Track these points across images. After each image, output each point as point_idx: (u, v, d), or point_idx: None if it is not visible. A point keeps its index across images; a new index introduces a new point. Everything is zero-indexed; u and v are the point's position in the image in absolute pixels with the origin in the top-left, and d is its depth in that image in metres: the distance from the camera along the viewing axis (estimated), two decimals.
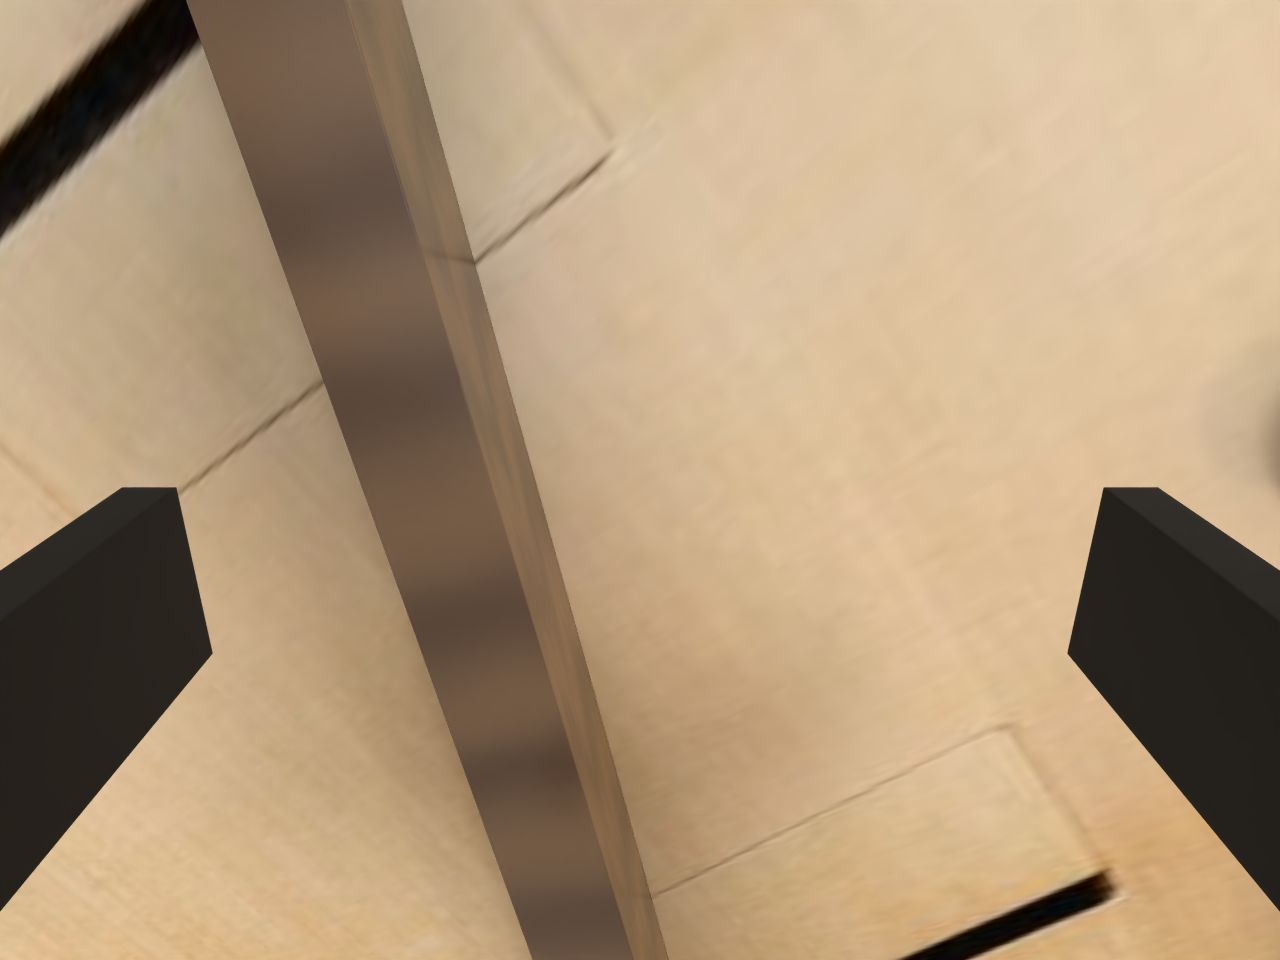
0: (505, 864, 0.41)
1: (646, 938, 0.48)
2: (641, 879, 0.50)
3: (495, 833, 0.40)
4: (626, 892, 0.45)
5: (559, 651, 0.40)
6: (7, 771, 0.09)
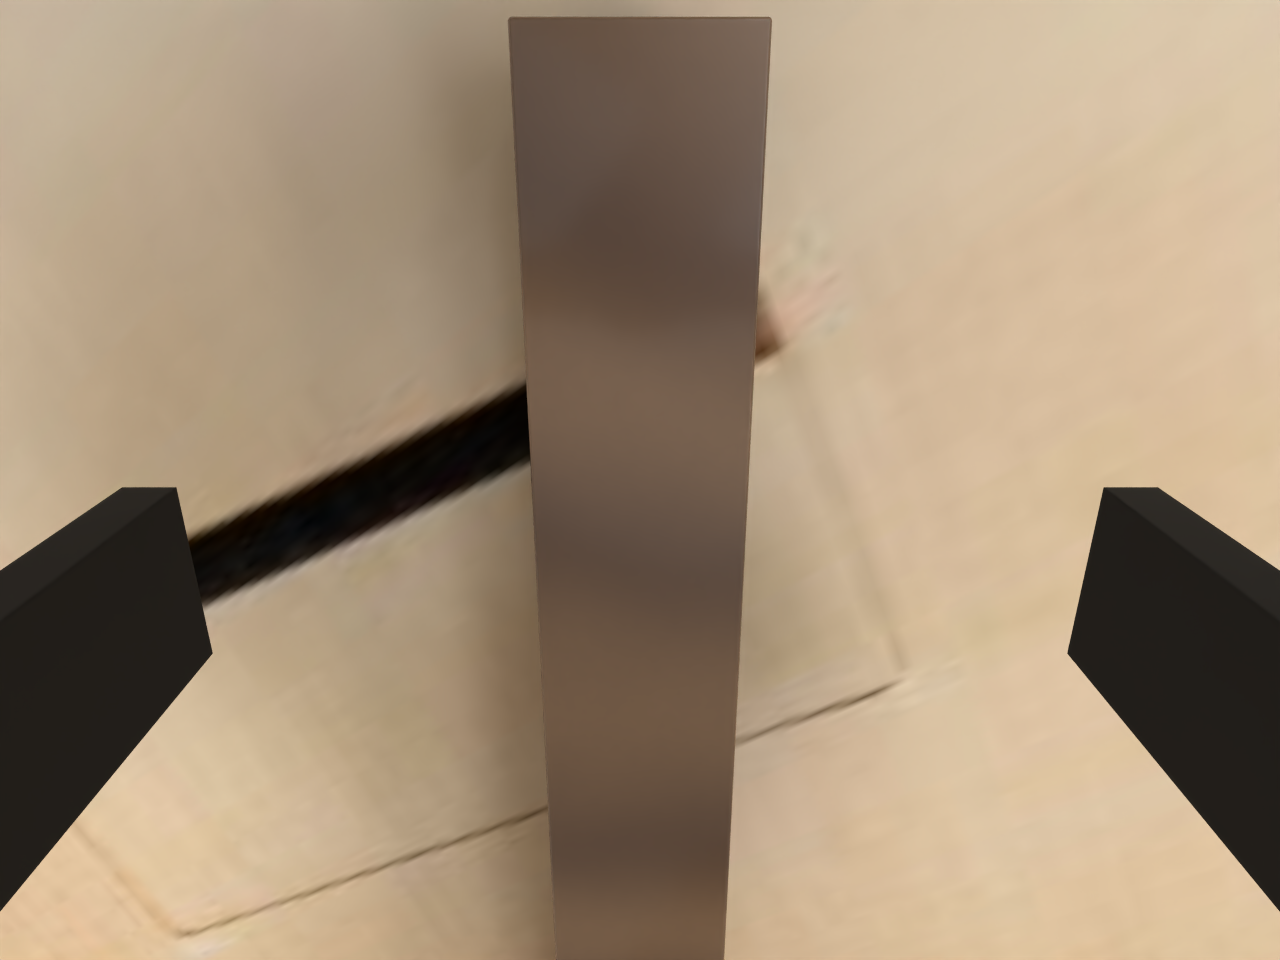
0: None
1: None
2: None
3: None
4: None
5: None
6: (8, 770, 0.09)
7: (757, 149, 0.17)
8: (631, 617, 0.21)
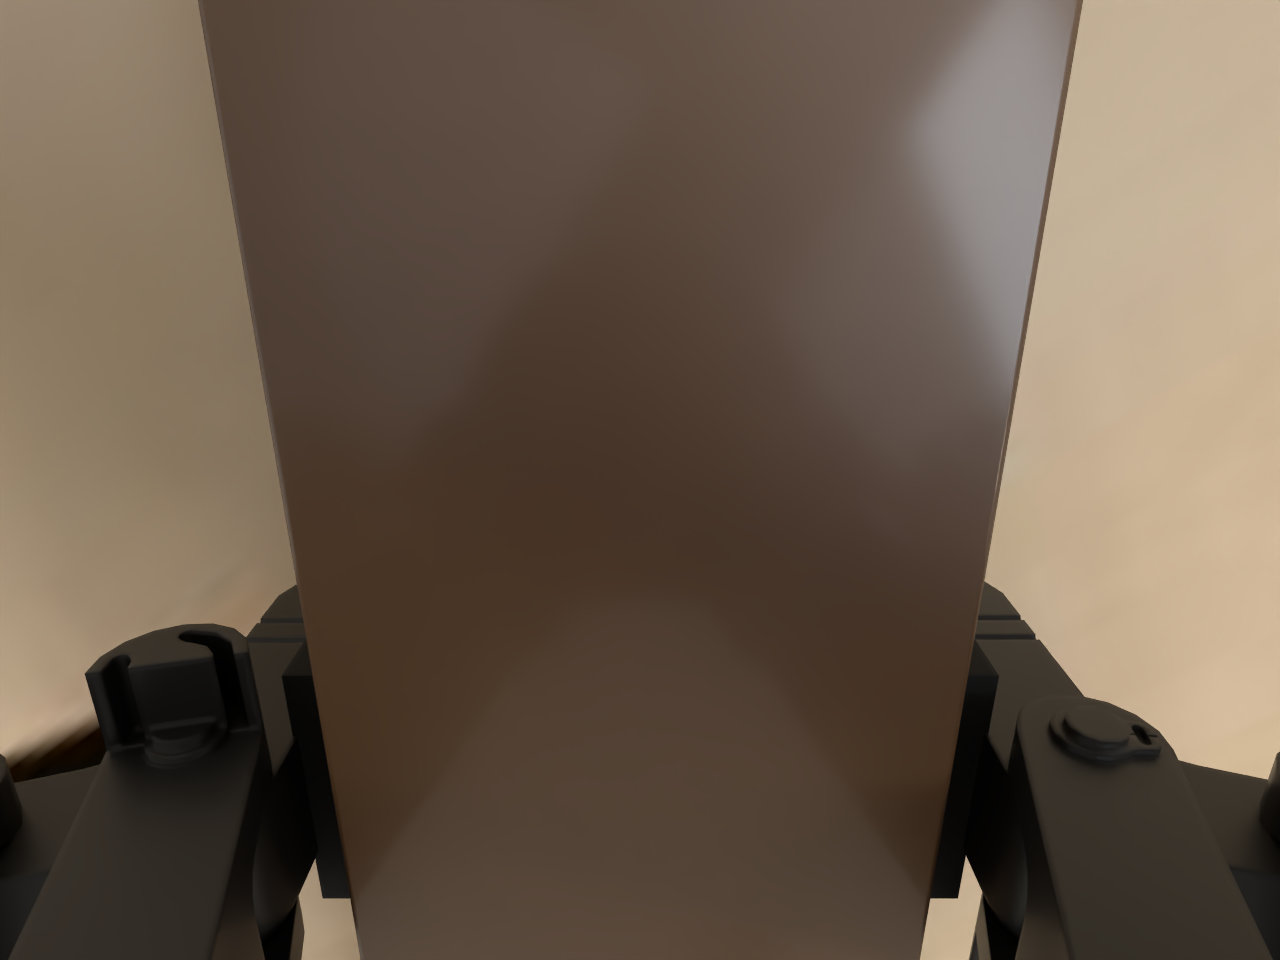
0: None
1: None
2: None
3: None
4: None
5: None
6: None
7: (1029, 183, 0.05)
8: None
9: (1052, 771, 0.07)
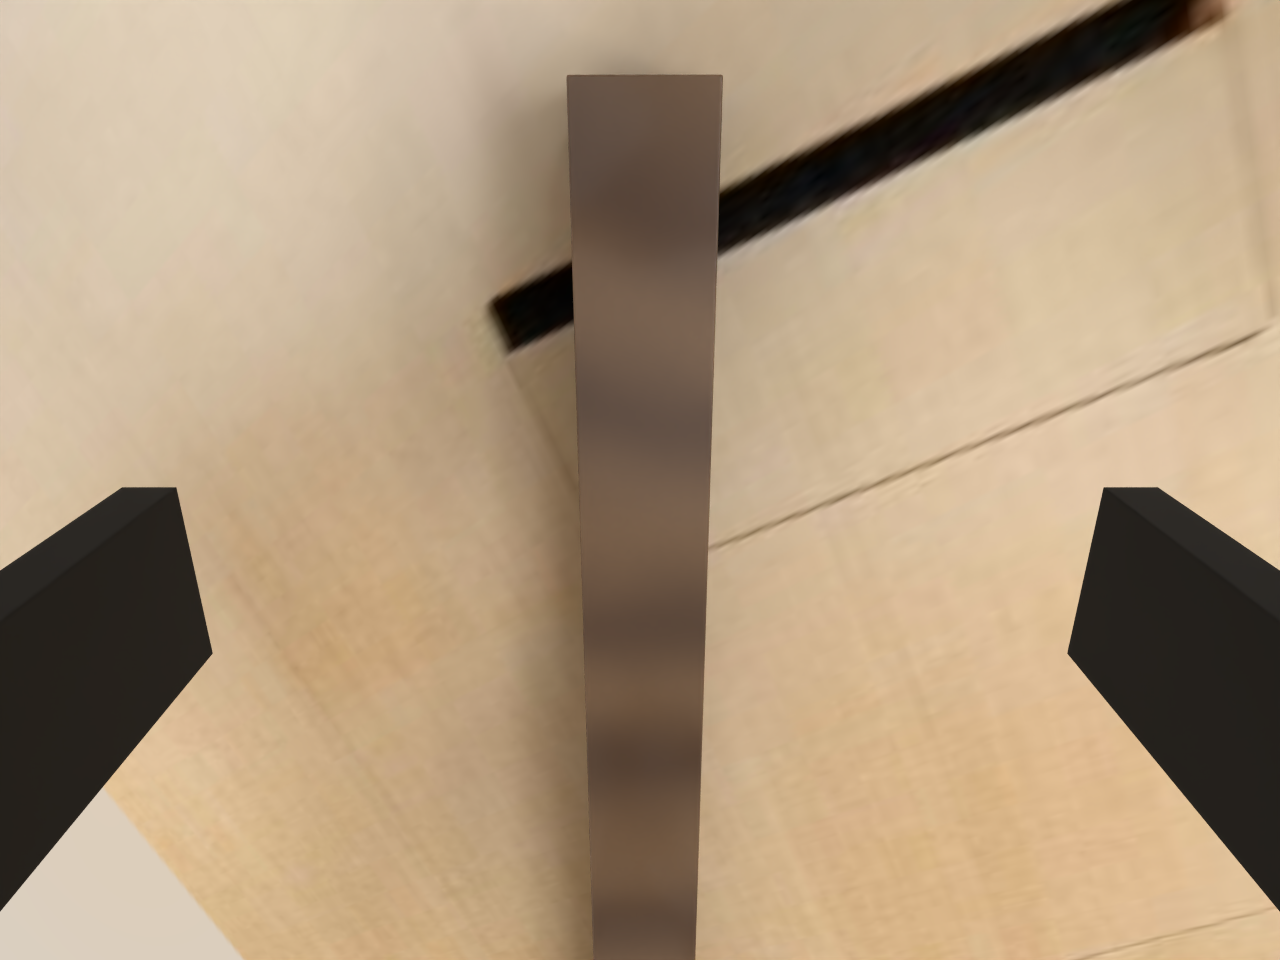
0: None
1: None
2: None
3: None
4: None
5: None
6: (8, 770, 0.09)
7: (715, 152, 0.28)
8: (639, 458, 0.32)
9: None
